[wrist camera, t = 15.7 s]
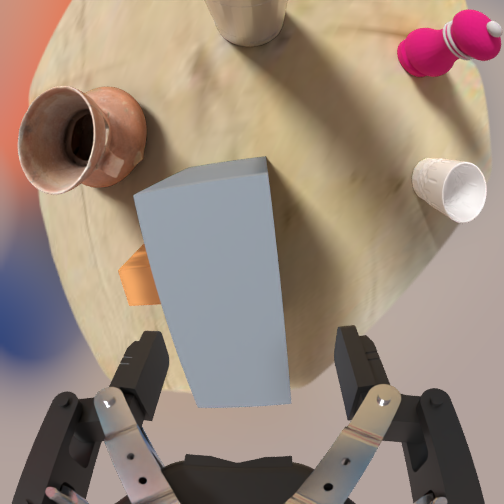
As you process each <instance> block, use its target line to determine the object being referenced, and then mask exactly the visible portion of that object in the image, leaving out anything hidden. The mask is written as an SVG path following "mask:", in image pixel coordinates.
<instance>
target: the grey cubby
mask: <svg viewBox="0 0 504 504" xmlns="http://www.w3.org/2000/svg"><path fill="white" fill-rule="evenodd" d="M133 197H134V201H135V206H136V210H137V215H138V219H139V224H140V228H141V232H142V236H143V240H144V244H145V248H146V252H147V256H148V260H149V263H150V267H151V271H152V274H153V278H154V281H155V285H156V288H157V292H158V295H159V298H160V302H161V305H162V308H163V311H164V315H165V318H166V321H167V324H168V327H169V330H170V333H171V336H172V339H173V342H174V345H175V348H176V351H177V353H178V356H179V359H180V362H181V365H182V367H183V370H184V373H185V375H186V378H187V381H188V383H189V386H190V389H191V391H192V394H193V396H194V399H195V401H196V404H197V406H198V407H199V408H221V407H223V408H224V407H252V406H267V405H281V404H290V403H291V393H290V380H289V368H288V357H287V346H286V335H285V324H284V313H283V303H282V293H281V283H280V274H279V264H278V255H277V246H276V237H275V228H274V219H273V211H272V203H271V194H270V186H269V178H268V170H267V162H266V156H265V157H257V158H249V159H241V160H234V161H227V162H220V163H214V164H207V165H201V166H195V167H189V168H187V169H185V170H183V171H180V172H178V173H176V174H174V175H172V176H170V177H168V178H166V179H164V180H162V181H160V182H158V183H156V184H154V185H152V186H150V187H148V188H146V189H144V190H142V191H140V192H138V193H136V194H135V195H133Z"/></svg>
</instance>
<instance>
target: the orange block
mask: <svg viewBox="0 0 504 504" xmlns="http://www.w3.org/2000/svg"><path fill="white" fill-rule="evenodd" d="M118 272H119V275H120V278H121V282H122V285H123V288H124V291H125V294H126V297H127V300H128V303H129V306H136V305H155V304H161V302H160V298H159V295H158V292H157V288H156V285H155V281H154V278H153V274H152V271H151V267H150V263H149V260H148V256H147V252H146V248H145V244H143V245H142V246H141V247H140V248H139V249H138V250H137V251H136V252H135V253H134V254H133V256H132V257H131V258H130V259H129V260H128V261H127V262H126V263H125V264H124V265H123V266H122V267H121V268H120V269H119V270H118Z"/></svg>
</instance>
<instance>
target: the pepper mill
mask: <svg viewBox="0 0 504 504" xmlns="http://www.w3.org/2000/svg"><path fill="white" fill-rule="evenodd" d="M501 35H502V28H501V27H500V25H499V24H498V23H496V22H494V21H491V20H490V19H489V18H488V17H487V16H486V15H484V14H482V13H481V12H478V11H475V10H463V11H460V12H459V13H457V14H456V15H455V17H454V18H453V20H452V21H450V22H448V23H446V24H445V25H444V28H443V29H441V30H435V29H431V28H420V29H417V30H414V31H412V32H411V33H410V34H409V35H408V36H407V38H406V39H405V40H403V41H402V42H401V43H400V44H399V46H398V50H397V55H398V59H399V61H400V63H401V65H402V66H403V68H404V69H405V70H406V71H407V72H409V73H410V74H412V75H414V76H417V77H424V76H432V77H437V76H440V75H443V74H445V73H447V72H448V71H449V70H450V69H451V68H452V66H453V64H454V62H455V61H456V60H457V59H459V58H460V59H463V60H470V59H477V60H481V61H486V60H490V59H492V58H494V57H496V56H497V54H498V53H499V51H500V48H501V38H500V36H501Z"/></svg>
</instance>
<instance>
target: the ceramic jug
mask: <svg viewBox="0 0 504 504" xmlns="http://www.w3.org/2000/svg"><path fill="white" fill-rule="evenodd" d="M146 136H147V128H146V121H145V117H144V114H143V111H142V109H141V107H140V105H139V104H138V102H137V101H136V100H135V99H134V98H133V97H132V96H131V95H130V94H128V93H127V92H125V91H123V90H121V89H119V88H115V87H100V88H96V89H93V90H90V91H88V92H86V93H83V92H82V91H80V90H78V89H76V88H73V87H69V86H58V87H54V88H51V89H49V90H47V91H45V92H43V93H42V94H40V95H39V96H38V97H37V98H36V99H35V100H34V101H33V102H32V104H31V105H30V106H29V108H28V111H27V112H26V113H25V115H24V117H23V120H22V123H21V126H20V129H19V138H18V154H19V159H20V163H21V167H22V168H23V171H24V172H25V175H26V177H27V178H28V180H29V181H30V183H32V184H33V186H34V187H36V188H37V189H38V190H40V191H42V192H44V193H47V194H62V193H65V192H68V191H70V190H72V189H74V188H75V187H77V186H78V185H80V184H81V183H82V184H84V185H87V186H90V187H108V186H111V185H114V184H116V183H118V182H120V181H121V180H123V179H124V178H125V177H126V176H127V175H128V174H129V173H130V172H131V171H132V170H133V169H134V167H135V166H136V165H137V164H138V163H139V162H140V161H142V160H143V158H144V149H145V144H146Z"/></svg>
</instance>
